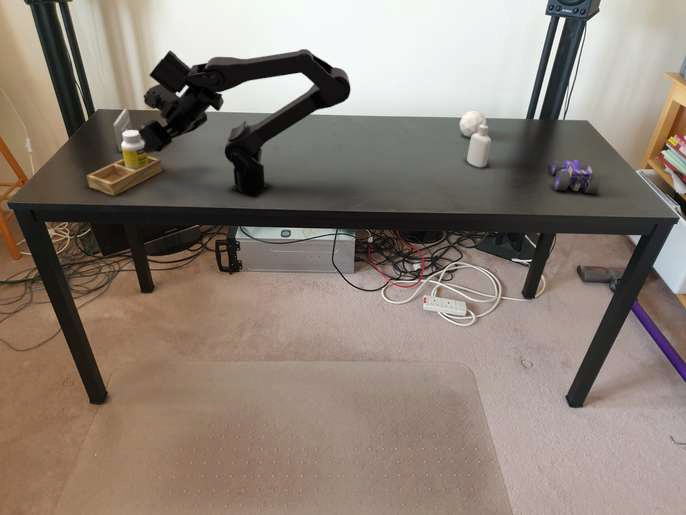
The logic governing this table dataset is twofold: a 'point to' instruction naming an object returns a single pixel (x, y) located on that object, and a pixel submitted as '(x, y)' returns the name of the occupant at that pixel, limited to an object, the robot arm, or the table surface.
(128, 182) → the tray
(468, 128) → the geometric ball
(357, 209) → the table surface
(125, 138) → the supplement bottle
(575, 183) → the toy race car
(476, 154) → the eye dropper bottle
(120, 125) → the cassette
